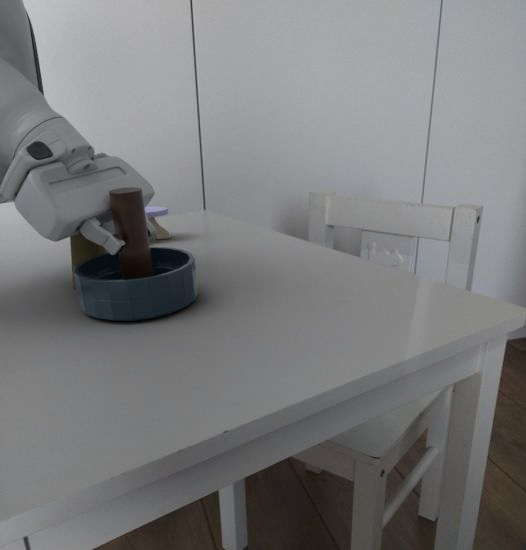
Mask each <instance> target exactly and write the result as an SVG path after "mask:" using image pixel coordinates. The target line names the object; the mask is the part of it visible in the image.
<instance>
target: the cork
mask: <svg viewBox="0 0 526 550" xmlns="http://www.w3.org/2000/svg"><path fill="white" fill-rule="evenodd" d="M100 227H102V225H100ZM69 240H70V241H69V243H70V257H71V274H72V275H71V276H72V289H73V290H74V291H77V288H76V283H75V278H74V273H73V272H74V267H75V266H76V265H77V264H79V263H80V262H81V261H83V260H86V259H88V258H90V257H93V256H96V255H99V254H103V253H106V250H105V248H104V247H103V246H101V245H99V244H97V243H94V242H92V241H90V240H88V239H86V238H85V237H84V236H83V235H82V234H81V233H79V234H76V235H73V236H71V237H69Z"/></svg>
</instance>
